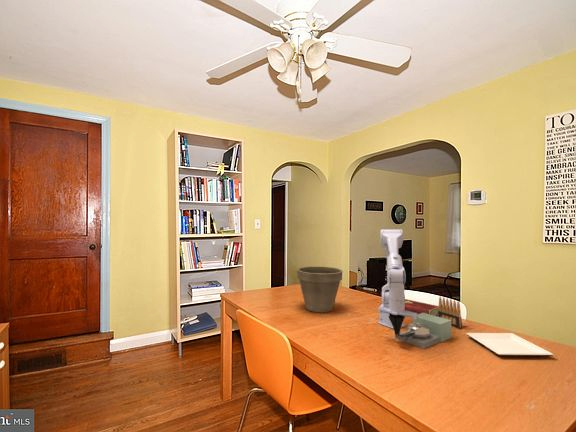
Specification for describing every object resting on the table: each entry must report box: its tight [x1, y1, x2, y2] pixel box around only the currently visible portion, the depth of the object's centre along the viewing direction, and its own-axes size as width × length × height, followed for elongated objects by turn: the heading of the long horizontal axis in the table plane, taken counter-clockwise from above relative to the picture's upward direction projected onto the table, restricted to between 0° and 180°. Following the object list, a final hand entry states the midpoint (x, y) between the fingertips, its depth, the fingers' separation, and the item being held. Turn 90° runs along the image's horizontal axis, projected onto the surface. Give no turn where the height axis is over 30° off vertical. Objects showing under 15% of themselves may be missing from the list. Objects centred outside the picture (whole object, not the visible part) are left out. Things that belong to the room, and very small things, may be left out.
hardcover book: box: [405, 298, 439, 316], centre depth 150 cm, size 12×21×4 cm, turn 39°
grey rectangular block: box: [399, 313, 453, 350], centre depth 114 cm, size 12×19×7 cm, turn 124°
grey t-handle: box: [394, 322, 430, 342], centre depth 109 cm, size 16×8×4 cm, turn 124°
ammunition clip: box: [437, 295, 463, 330], centre depth 129 cm, size 11×2×12 cm, turn 25°
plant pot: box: [296, 265, 343, 313], centre depth 155 cm, size 25×25×22 cm
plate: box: [465, 332, 555, 357], centre depth 105 cm, size 19×19×2 cm
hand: (397, 333), depth 111 cm, fingers closed
